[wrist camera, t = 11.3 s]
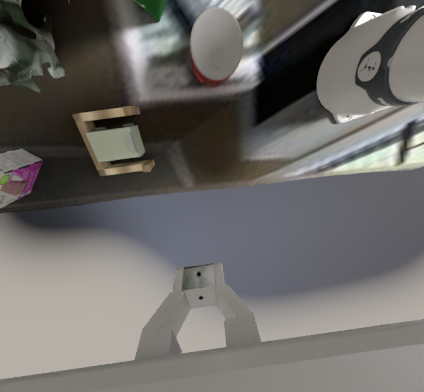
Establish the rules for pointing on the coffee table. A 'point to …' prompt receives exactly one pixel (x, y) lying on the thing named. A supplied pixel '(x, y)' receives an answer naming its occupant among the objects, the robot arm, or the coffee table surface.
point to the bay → (87, 125)
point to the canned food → (215, 46)
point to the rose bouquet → (25, 48)
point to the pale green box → (116, 143)
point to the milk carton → (153, 7)
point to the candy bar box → (17, 174)
